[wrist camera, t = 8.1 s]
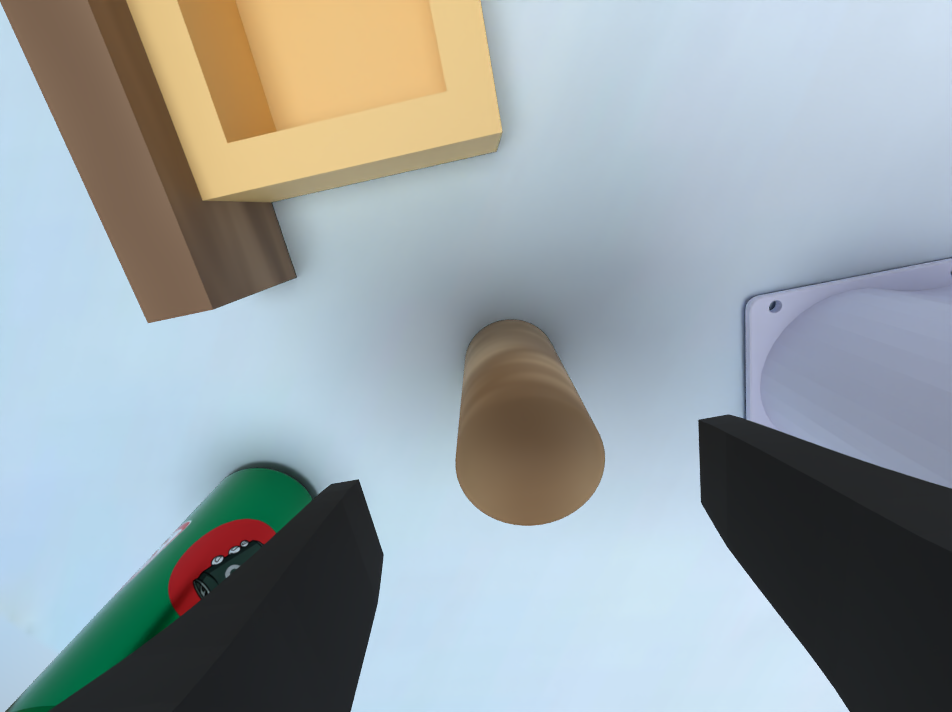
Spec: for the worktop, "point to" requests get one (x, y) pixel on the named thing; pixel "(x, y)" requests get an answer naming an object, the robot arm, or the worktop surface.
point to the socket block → (319, 89)
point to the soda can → (173, 579)
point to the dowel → (524, 429)
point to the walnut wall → (143, 163)
